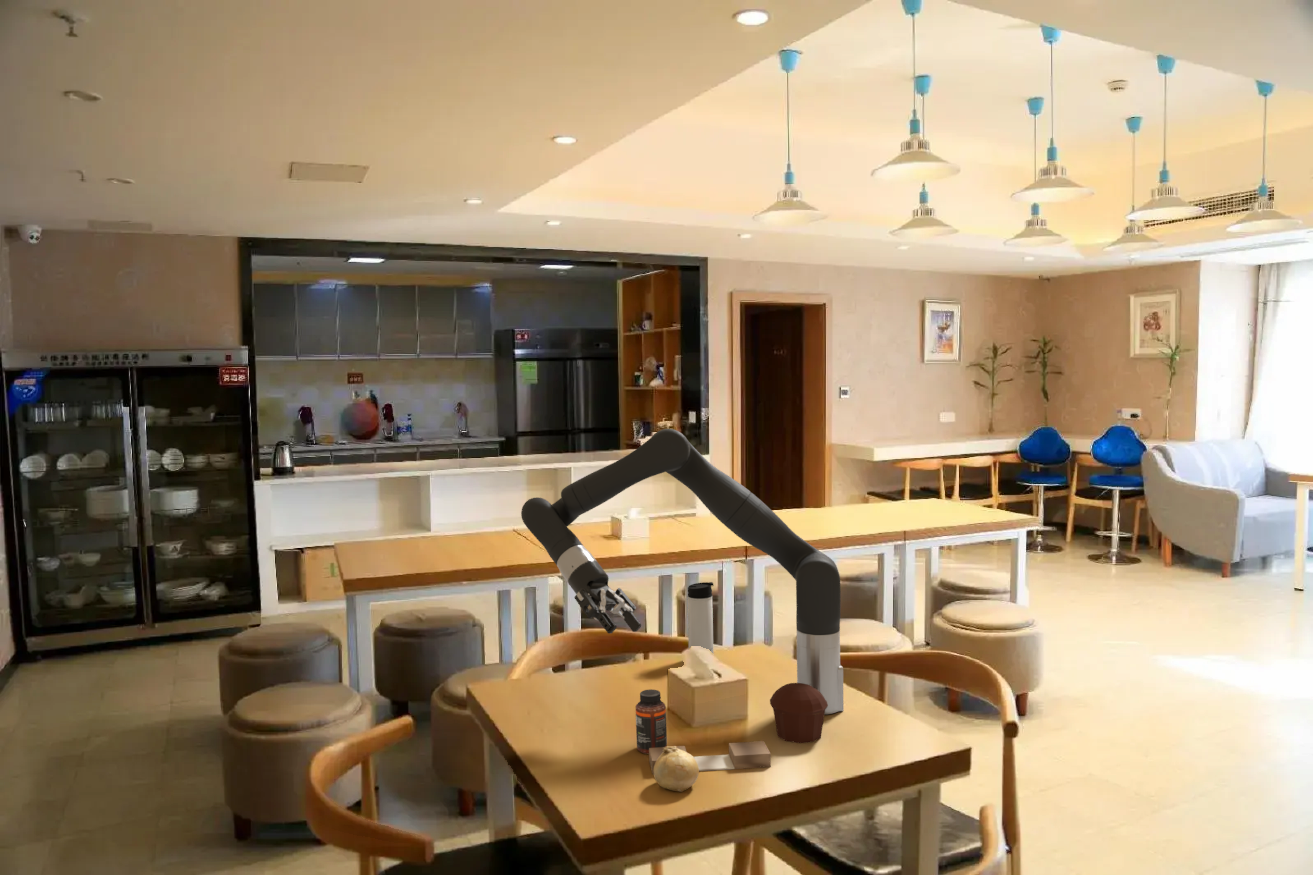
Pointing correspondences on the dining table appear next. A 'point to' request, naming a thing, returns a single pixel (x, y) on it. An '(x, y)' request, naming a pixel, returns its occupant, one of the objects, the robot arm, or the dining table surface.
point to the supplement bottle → (650, 721)
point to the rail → (726, 757)
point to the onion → (675, 769)
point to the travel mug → (700, 615)
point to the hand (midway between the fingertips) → (625, 629)
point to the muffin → (798, 712)
